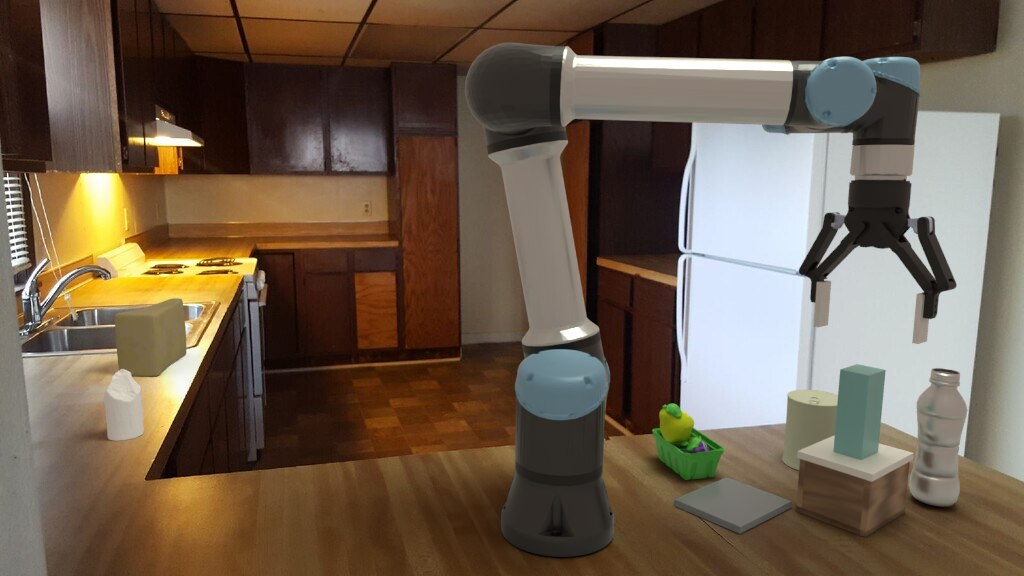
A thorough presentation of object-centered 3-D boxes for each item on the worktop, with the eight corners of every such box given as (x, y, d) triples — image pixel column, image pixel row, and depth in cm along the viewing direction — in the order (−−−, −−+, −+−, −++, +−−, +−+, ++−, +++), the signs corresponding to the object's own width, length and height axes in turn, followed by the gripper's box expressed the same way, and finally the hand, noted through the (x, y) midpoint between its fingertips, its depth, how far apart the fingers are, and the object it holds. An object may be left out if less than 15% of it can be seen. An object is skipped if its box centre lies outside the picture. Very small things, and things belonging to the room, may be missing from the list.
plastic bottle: (933, 514, 107) (947, 378, 104) (896, 495, 114) (909, 366, 111) (968, 509, 109) (984, 376, 106) (931, 490, 115) (944, 364, 112)
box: (865, 537, 100) (870, 480, 99) (795, 511, 107) (800, 457, 106) (904, 512, 108) (909, 459, 106) (837, 489, 115) (841, 439, 114)
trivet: (739, 534, 100) (740, 527, 100) (673, 505, 109) (674, 499, 108) (791, 507, 109) (791, 501, 108) (726, 483, 117) (726, 477, 117)
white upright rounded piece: (109, 376, 128) (96, 370, 132) (114, 443, 130) (101, 435, 133) (145, 369, 132) (132, 364, 136) (149, 434, 134) (136, 427, 138)
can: (778, 467, 124) (783, 397, 122) (786, 449, 132) (791, 383, 130) (838, 478, 119) (845, 406, 118) (843, 459, 128) (849, 391, 126)
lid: (871, 490, 98) (881, 385, 96) (796, 465, 106) (803, 368, 104) (912, 467, 106) (922, 370, 104) (839, 446, 115) (847, 355, 112)
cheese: (165, 353, 194) (162, 296, 191) (202, 354, 193) (199, 297, 191) (116, 376, 172) (112, 312, 169) (157, 377, 171) (154, 313, 169)
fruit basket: (725, 479, 118) (729, 410, 117) (675, 485, 116) (678, 415, 114) (689, 453, 129) (692, 390, 128) (642, 458, 127) (645, 394, 125)
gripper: (995, 179, 93) (978, 345, 96) (807, 177, 112) (798, 317, 115) (972, 179, 89) (955, 354, 92) (780, 177, 107) (771, 322, 111)
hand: (867, 333), depth 104 cm, fingers open, 13 cm apart
